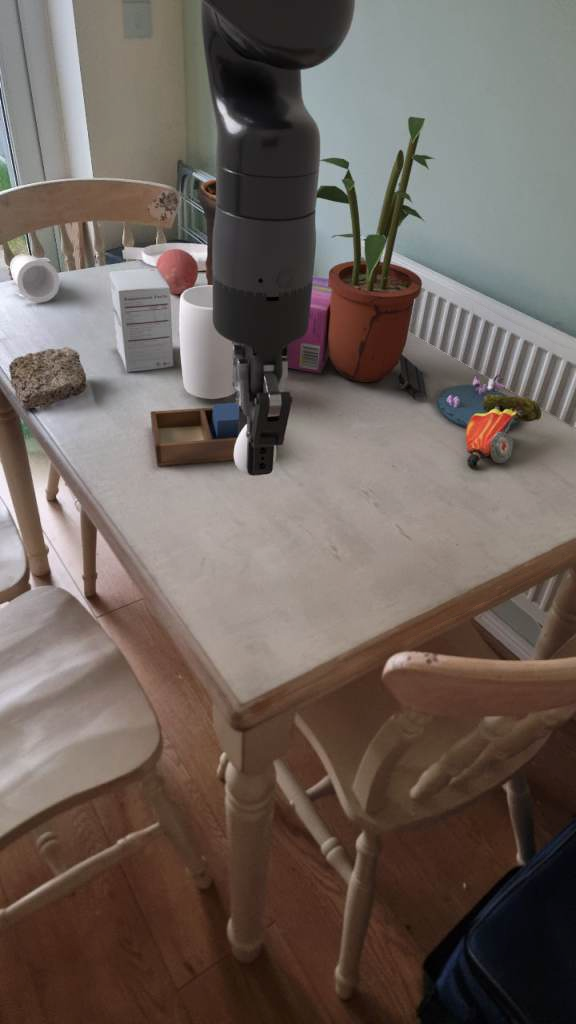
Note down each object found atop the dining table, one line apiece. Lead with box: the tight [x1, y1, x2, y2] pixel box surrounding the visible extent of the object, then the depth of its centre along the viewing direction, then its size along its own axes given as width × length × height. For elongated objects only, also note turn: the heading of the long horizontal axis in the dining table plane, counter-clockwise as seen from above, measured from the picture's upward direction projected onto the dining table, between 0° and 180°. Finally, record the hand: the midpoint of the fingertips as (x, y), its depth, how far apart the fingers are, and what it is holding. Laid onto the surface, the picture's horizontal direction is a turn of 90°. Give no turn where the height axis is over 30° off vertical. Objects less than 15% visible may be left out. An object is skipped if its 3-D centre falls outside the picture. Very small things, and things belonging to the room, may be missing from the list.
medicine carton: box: [109, 267, 175, 373], centre depth 102 cm, size 7×7×13 cm
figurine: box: [465, 394, 542, 469], centre depth 91 cm, size 8×5×12 cm
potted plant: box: [317, 116, 435, 383], centre depth 95 cm, size 17×16×35 cm
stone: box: [8, 346, 87, 410], centre depth 95 cm, size 9×5×10 cm
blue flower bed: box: [436, 371, 520, 430], centre depth 98 cm, size 12×12×7 cm
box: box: [286, 276, 332, 374], centre depth 107 cm, size 10×6×12 cm
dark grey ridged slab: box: [398, 354, 428, 400], centre depth 104 cm, size 5×9×2 cm
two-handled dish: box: [122, 242, 207, 272], centre depth 137 cm, size 10×25×2 cm, turn 88°
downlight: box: [9, 253, 61, 303], centre depth 120 cm, size 8×7×10 cm
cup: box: [178, 284, 237, 400], centre depth 95 cm, size 8×8×14 cm
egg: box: [233, 424, 277, 477], centre depth 62 cm, size 4×4×6 cm
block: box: [211, 402, 241, 439], centre depth 88 cm, size 4×4×4 cm
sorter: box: [150, 407, 237, 467], centre depth 89 cm, size 13×8×3 cm, turn 103°
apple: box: [155, 249, 199, 295], centre depth 124 cm, size 7×7×8 cm
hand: (254, 457), depth 62 cm, fingers closed on egg, 4 cm apart
